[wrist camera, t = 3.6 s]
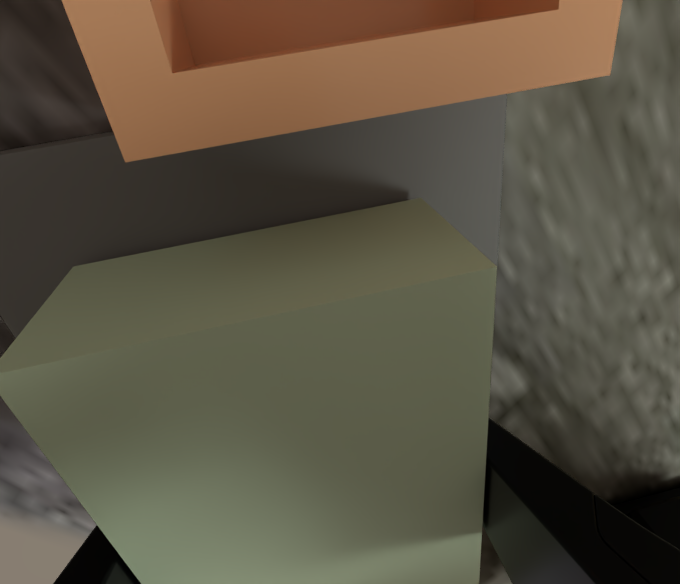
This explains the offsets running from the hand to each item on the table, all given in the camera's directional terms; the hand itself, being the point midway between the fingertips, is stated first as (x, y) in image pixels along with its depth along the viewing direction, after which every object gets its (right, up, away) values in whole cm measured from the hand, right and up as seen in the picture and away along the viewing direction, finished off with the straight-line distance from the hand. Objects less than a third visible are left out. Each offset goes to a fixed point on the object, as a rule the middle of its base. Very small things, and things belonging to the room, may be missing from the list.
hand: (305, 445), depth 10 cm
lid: (0, 0, +1) cm, 1 cm away
